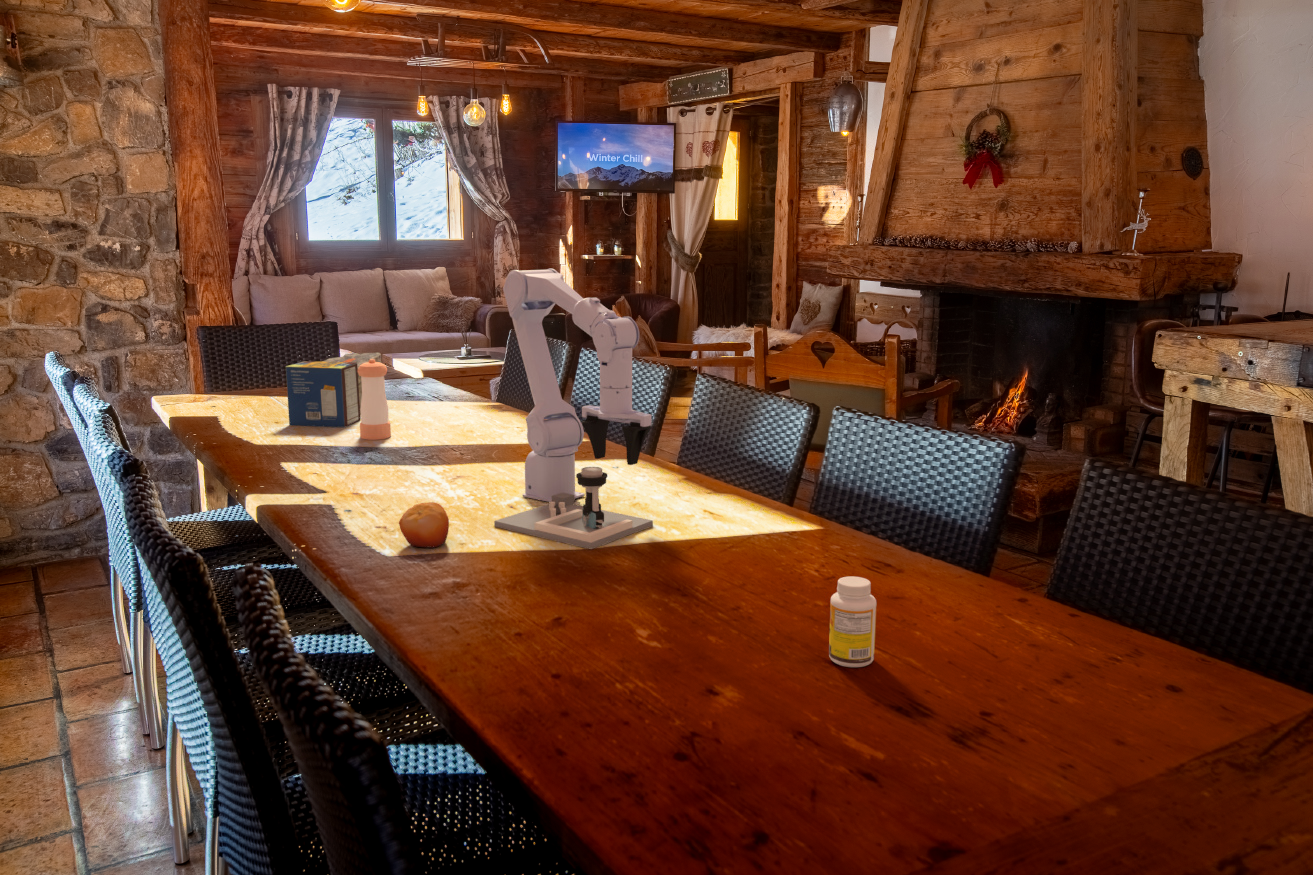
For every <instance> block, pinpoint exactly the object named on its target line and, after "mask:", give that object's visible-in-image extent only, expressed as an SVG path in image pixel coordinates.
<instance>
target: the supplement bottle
mask: <svg viewBox="0 0 1313 875" xmlns="http://www.w3.org/2000/svg"><path fill="white" fill-rule="evenodd" d="M871 584H872V583H871V581H870V580H869V579H867V578H865V577H861V576H854V575H853V576H844V577H840V578H839V579H838V580H837V587H836V592H835V593H833V594H832V595H831V597H830V604H829V606H830V607H829V609H830V610H829V632H828V634H829V635H828V636H829V640H828V641H829V642H828V643H829V644H828V656H829V658H830V660H831V661H832V662H833V663H834V664H836V665H839V666H841V667H846V668H863V667H866V666H869V665H870V664H872V663H873V661H874V659H875V646H876V645H875V643H876V627H877V626H876V623H877V599H876V598H875V597H874V595H872V593H871V591H872V590H871V589H872V587H871V586H872V585H871Z"/></svg>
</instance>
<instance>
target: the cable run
mask: <svg viewBox="0 0 1313 875" xmlns="http://www.w3.org/2000/svg"><path fill="white" fill-rule="evenodd" d="M575 500H576V499H574V495H572V494H567V493H559V494H556V495H553V496H552V502H548V504H549V510H551V517H554V516H557V515H560V514H563V513H566V508H565V506H568V505H571V504H575V503H576V502H575ZM560 511H561V512H560Z"/></svg>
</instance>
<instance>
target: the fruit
mask: <svg viewBox="0 0 1313 875" xmlns="http://www.w3.org/2000/svg"><path fill="white" fill-rule="evenodd" d="M449 519H450V518H449V516H448V513H447V512H446V510H445V508H444V507H443V506H442V505H441V504H440V503H438V502H433V501H432V502H420V503H416V504H414V505H413V506H411V507H409V508H408V509H407V510H406V511H405V512H404V513H403V514H402V516H401V518H400V519H399V521H398V524H399V525H398V526H399V529H400V532H401V533H402V535H403V537H404V538H405V540H406V542H407V543H408V544H409V545H410V546H412V547H416V548H433V549H434V548H438V547H440V546H442V545H443V544H445V543H446V541H447V539H448V535H449V530H450V529H449V527H450V521H449Z"/></svg>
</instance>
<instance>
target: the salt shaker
mask: <svg viewBox="0 0 1313 875" xmlns="http://www.w3.org/2000/svg"><path fill="white" fill-rule="evenodd" d="M357 372H358V374H359V376H362V377H361V381H362V399H361V408H360V416H361V420H360V423H359V434H360V439H362V440H369V441H370V440H371V441H374V440H384V439H389V438H390V437H392V431H391V429H392V428H391V421H389V404H388V400H387V396H386V386H385V384H386V382H385V376H386V375H387V373H388V368H387V365H386V364H385V363H380V362H375V360H374V359H370V360H369V362H367V363H363V364H361V365H360V366H359V368H358V371H357Z"/></svg>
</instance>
